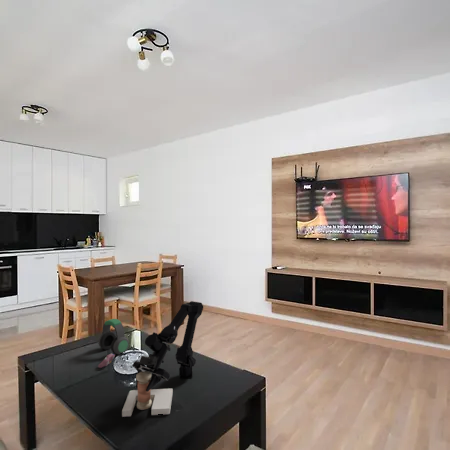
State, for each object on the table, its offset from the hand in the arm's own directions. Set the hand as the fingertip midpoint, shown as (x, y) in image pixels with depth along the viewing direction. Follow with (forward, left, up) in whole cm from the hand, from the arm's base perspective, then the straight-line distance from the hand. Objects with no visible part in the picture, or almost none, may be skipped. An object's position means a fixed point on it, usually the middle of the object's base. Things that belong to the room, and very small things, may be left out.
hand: (141, 389), depth 143 cm
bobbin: (-1, -2, -8) cm, 8 cm away
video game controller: (+27, -44, -8) cm, 52 cm away
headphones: (+28, -62, -8) cm, 69 cm away
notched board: (-3, -2, -8) cm, 9 cm away
